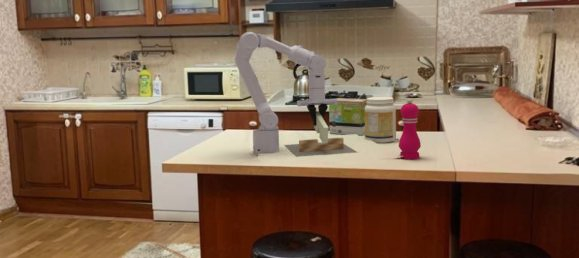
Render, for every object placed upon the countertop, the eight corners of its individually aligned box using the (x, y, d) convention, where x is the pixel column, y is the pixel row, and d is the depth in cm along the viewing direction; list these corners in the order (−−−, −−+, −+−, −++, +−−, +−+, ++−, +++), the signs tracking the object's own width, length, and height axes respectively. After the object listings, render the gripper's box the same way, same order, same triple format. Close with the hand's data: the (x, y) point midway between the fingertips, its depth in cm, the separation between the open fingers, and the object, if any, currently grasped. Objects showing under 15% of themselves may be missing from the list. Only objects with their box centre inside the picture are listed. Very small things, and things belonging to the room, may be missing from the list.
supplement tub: (373, 137, 233) (373, 95, 231) (401, 139, 227) (401, 96, 224) (359, 142, 223) (359, 99, 221) (388, 144, 217) (387, 100, 214)
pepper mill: (405, 154, 197) (405, 97, 194) (424, 156, 192) (424, 97, 189) (394, 158, 191) (394, 99, 188) (414, 160, 187) (414, 100, 183)
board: (296, 159, 195) (296, 156, 194) (283, 147, 217) (283, 144, 217) (357, 155, 199) (357, 152, 198) (339, 143, 221) (339, 141, 221)
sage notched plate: (327, 143, 198) (328, 127, 196) (323, 143, 198) (324, 127, 195) (318, 126, 211) (318, 111, 208) (313, 127, 210) (314, 112, 208)
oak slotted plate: (300, 152, 202) (299, 140, 201) (299, 151, 203) (298, 140, 203) (343, 149, 205) (343, 138, 204) (342, 148, 206) (342, 137, 206)
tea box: (328, 134, 244) (328, 99, 242) (338, 130, 253) (337, 97, 251) (361, 136, 237) (361, 100, 235) (370, 132, 246) (369, 98, 244)
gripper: (333, 86, 211) (333, 122, 213) (294, 88, 208) (296, 124, 210) (338, 87, 204) (339, 125, 206) (298, 89, 201) (300, 127, 203)
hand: (317, 125), depth 208 cm, fingers closed on sage notched plate, 2 cm apart
